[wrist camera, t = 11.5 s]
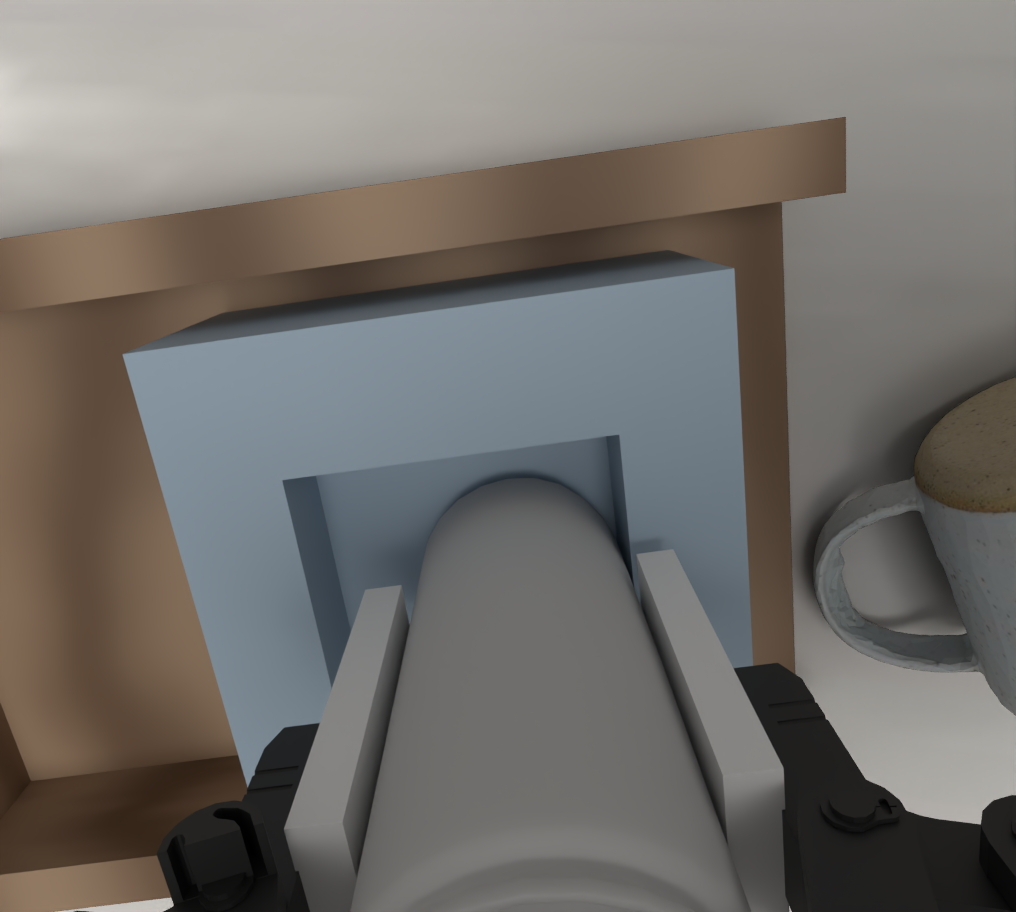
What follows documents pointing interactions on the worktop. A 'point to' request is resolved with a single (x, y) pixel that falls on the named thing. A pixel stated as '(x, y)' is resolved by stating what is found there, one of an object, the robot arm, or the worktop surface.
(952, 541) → the ceramic mug
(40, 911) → the bay
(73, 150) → the worktop surface
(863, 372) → the worktop surface
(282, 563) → the blue recessed block
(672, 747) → the beverage can
